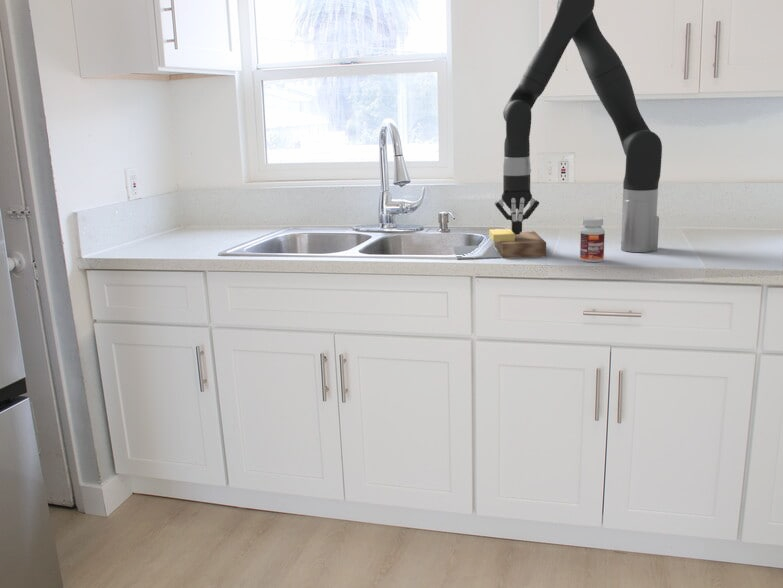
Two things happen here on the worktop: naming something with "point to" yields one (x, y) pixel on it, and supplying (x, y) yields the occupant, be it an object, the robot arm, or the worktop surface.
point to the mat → (468, 249)
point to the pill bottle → (592, 240)
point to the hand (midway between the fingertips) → (516, 233)
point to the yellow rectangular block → (501, 235)
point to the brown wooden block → (522, 246)
